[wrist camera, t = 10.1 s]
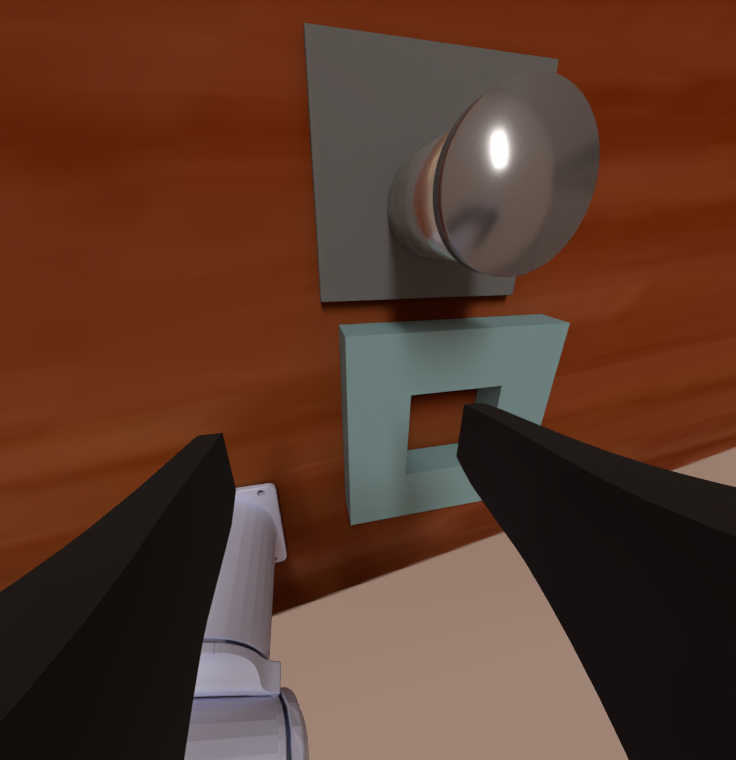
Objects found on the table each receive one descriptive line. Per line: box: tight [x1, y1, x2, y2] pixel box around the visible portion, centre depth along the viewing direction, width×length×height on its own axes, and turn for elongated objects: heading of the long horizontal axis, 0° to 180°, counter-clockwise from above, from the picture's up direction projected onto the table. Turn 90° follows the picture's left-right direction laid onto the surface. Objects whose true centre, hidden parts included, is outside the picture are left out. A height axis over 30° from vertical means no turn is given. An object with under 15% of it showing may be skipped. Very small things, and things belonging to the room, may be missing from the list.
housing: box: [339, 314, 570, 525], centre depth 21 cm, size 14×14×2 cm
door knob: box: [387, 70, 599, 277], centre depth 13 cm, size 6×6×7 cm
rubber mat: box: [304, 23, 559, 302], centre depth 16 cm, size 12×11×1 cm
